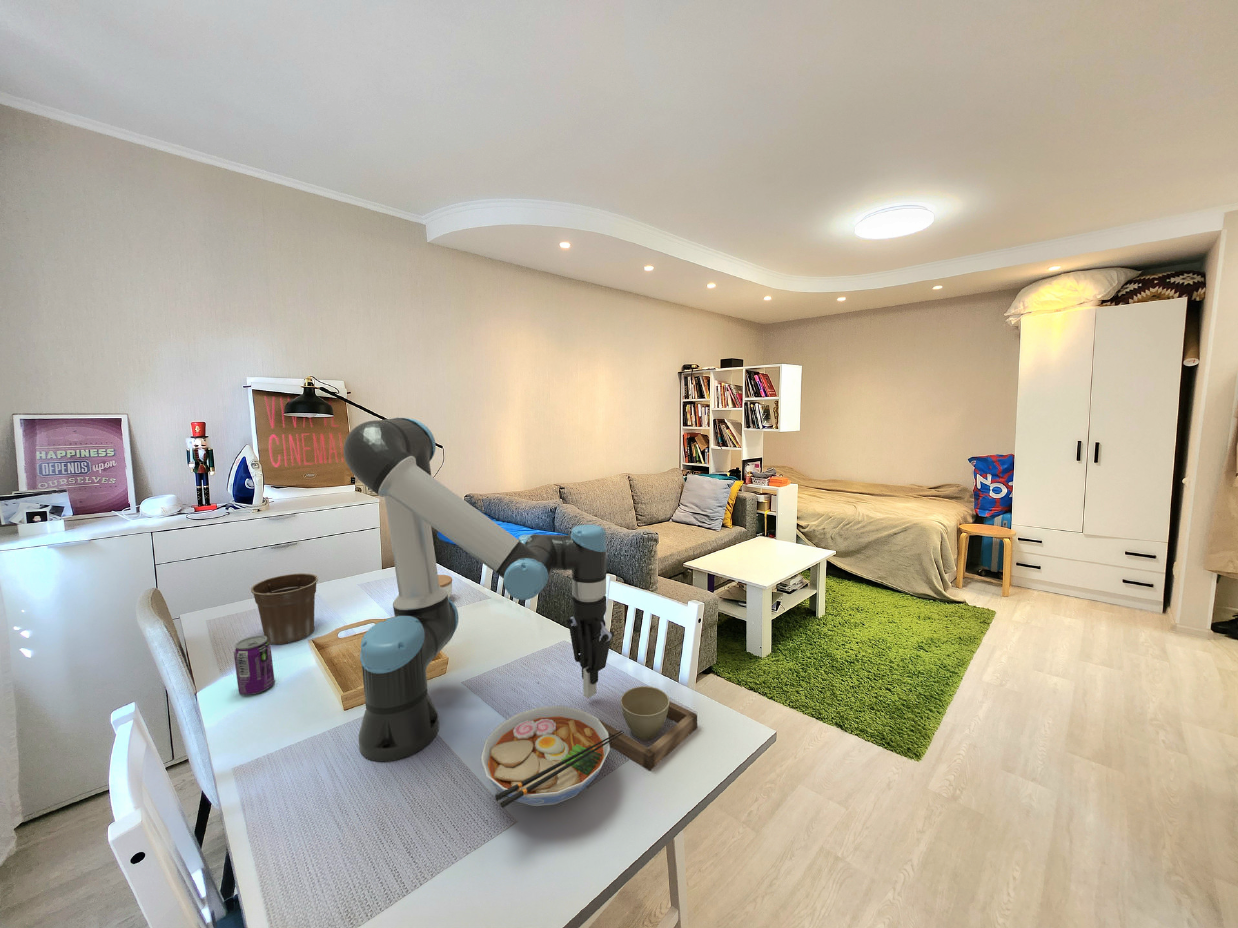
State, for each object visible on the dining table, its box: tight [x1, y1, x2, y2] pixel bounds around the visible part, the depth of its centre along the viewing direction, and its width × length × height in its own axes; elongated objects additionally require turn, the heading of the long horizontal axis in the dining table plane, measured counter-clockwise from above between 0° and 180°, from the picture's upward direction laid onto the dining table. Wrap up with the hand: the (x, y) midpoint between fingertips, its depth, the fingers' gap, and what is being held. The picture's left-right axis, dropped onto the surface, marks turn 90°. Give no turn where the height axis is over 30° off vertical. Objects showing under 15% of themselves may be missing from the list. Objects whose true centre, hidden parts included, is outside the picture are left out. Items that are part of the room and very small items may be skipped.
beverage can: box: [233, 635, 276, 695], centre depth 120 cm, size 7×7×12 cm
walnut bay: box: [599, 700, 698, 771], centre depth 104 cm, size 16×14×3 cm
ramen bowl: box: [480, 705, 625, 809], centre depth 90 cm, size 25×23×8 cm
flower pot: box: [620, 685, 670, 741], centre depth 104 cm, size 10×10×7 cm
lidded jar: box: [438, 574, 453, 599], centre depth 170 cm, size 11×11×9 cm
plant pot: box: [250, 572, 319, 645], centre depth 147 cm, size 16×16×16 cm
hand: (590, 694), depth 114 cm, fingers closed
